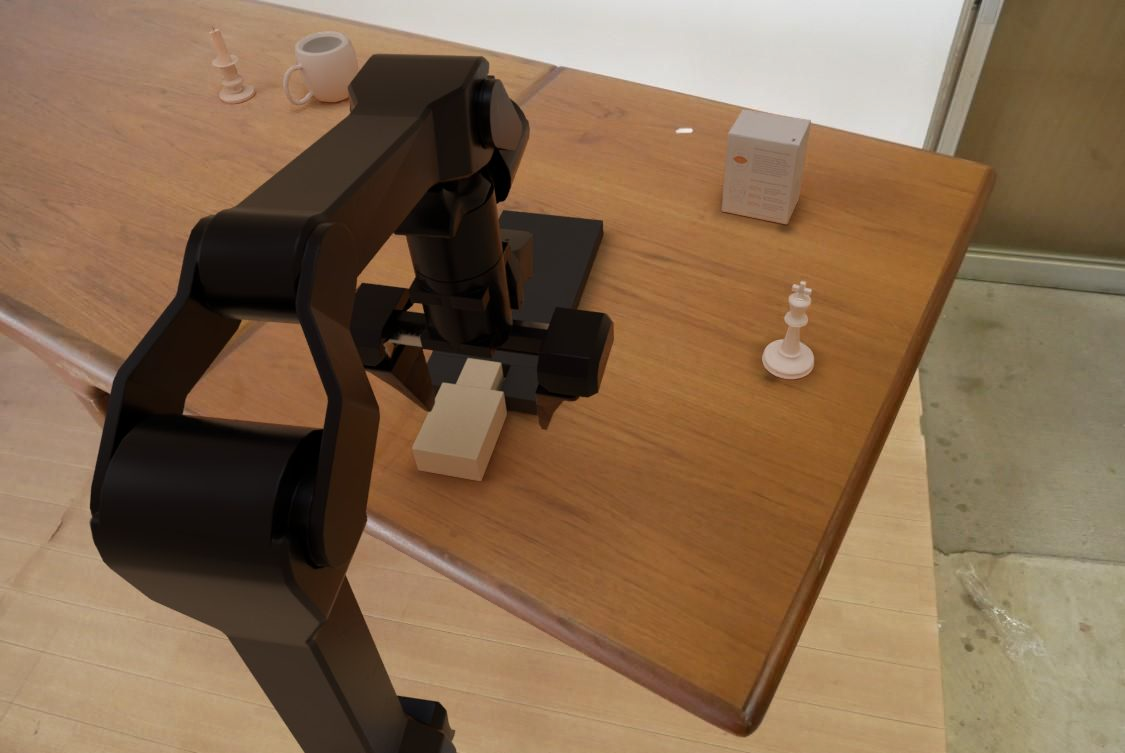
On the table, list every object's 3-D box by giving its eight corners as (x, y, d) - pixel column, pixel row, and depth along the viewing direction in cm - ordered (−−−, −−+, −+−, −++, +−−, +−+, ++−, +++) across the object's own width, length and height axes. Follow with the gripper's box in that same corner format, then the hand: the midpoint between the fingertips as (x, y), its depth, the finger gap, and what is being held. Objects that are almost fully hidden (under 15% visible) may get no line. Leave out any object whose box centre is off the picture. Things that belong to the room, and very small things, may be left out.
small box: (799, 199, 100) (813, 119, 92) (787, 226, 96) (801, 145, 89) (733, 186, 102) (742, 107, 94) (719, 212, 99) (727, 132, 91)
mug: (341, 74, 128) (327, 23, 122) (376, 90, 124) (363, 38, 118) (275, 106, 122) (257, 54, 117) (309, 125, 118) (293, 72, 112)
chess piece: (772, 337, 84) (786, 259, 77) (820, 353, 82) (839, 274, 75) (754, 369, 81) (766, 291, 74) (803, 386, 80) (821, 307, 72)
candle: (213, 97, 125) (186, 29, 118) (242, 83, 128) (217, 15, 120) (233, 107, 123) (207, 38, 115) (262, 92, 125) (239, 23, 118)
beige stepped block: (481, 481, 74) (476, 459, 72) (418, 470, 75) (411, 448, 73) (517, 387, 82) (514, 364, 79) (459, 378, 83) (454, 355, 81)
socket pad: (539, 415, 79) (537, 401, 78) (420, 396, 82) (416, 382, 80) (603, 234, 97) (603, 220, 96) (504, 223, 100) (502, 209, 98)
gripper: (629, 193, 56) (629, 358, 67) (370, 168, 60) (411, 328, 71) (592, 303, 48) (599, 468, 60) (299, 267, 52) (358, 428, 64)
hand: (487, 416), depth 64 cm, fingers open, 9 cm apart
